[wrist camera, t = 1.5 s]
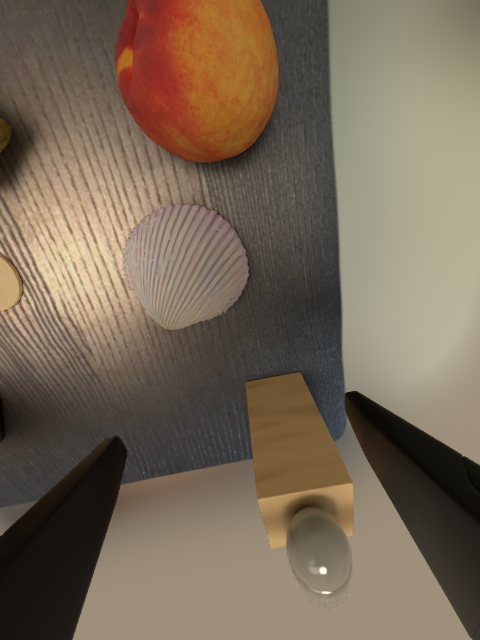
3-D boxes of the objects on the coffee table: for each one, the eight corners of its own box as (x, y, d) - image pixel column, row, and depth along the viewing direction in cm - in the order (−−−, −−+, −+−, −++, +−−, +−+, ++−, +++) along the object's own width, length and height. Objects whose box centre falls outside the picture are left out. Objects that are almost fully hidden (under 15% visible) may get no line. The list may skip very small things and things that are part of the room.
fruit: (177, -10, 14) (118, -276, 6) (289, 84, 16) (342, -37, 8) (129, 131, 16) (47, 58, 9) (230, 198, 18) (232, 183, 11)
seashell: (96, 321, 18) (102, 184, 13) (128, 289, 23) (141, 178, 17) (220, 360, 20) (271, 253, 14) (226, 323, 24) (267, 231, 19)
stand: (305, 413, 27) (354, 535, 17) (254, 422, 27) (271, 549, 17) (300, 371, 25) (353, 483, 14) (244, 382, 25) (257, 500, 14)
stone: (337, 536, 17) (364, 615, 13) (287, 545, 17) (301, 625, 13) (334, 488, 14) (365, 568, 11) (276, 498, 14) (291, 580, 11)
